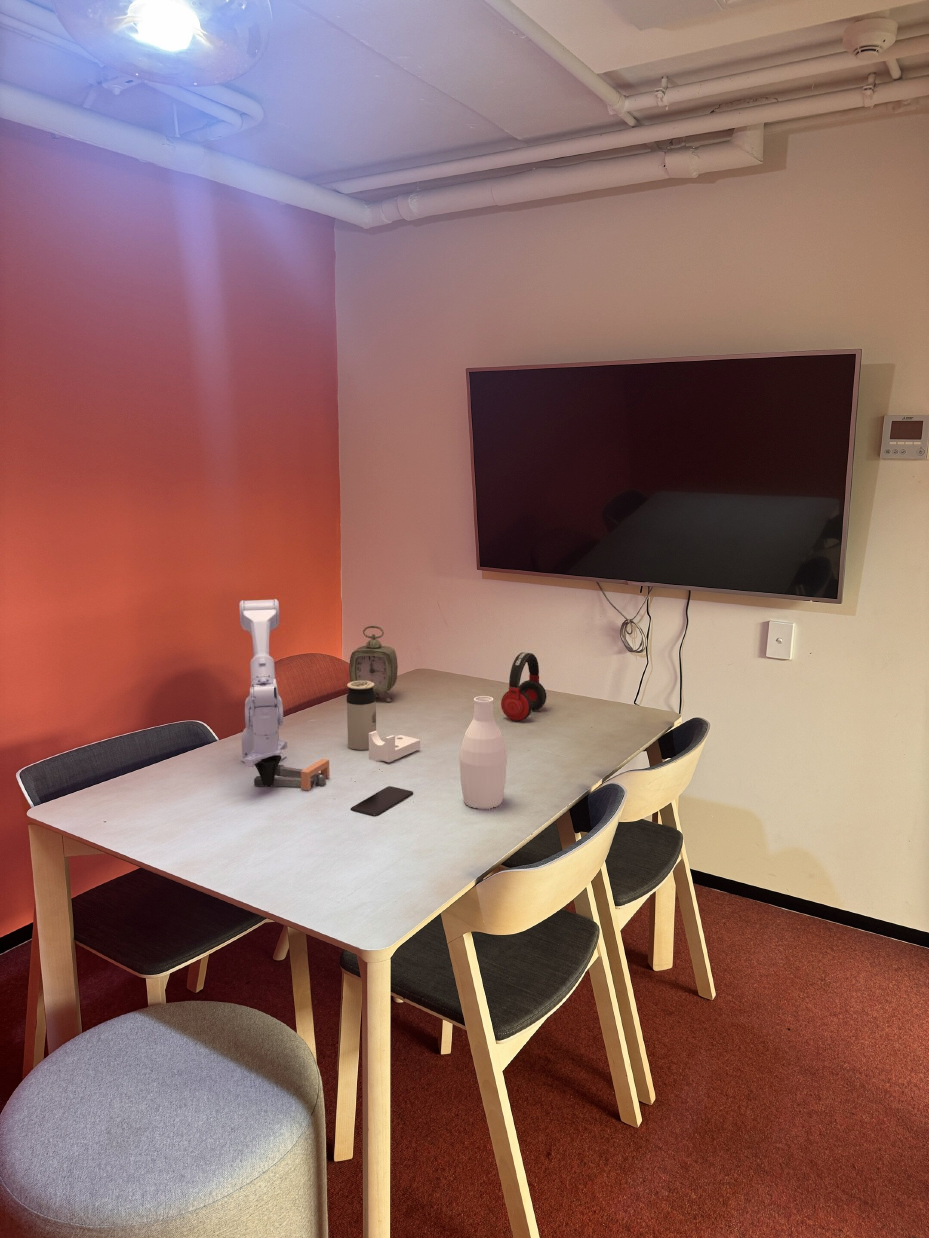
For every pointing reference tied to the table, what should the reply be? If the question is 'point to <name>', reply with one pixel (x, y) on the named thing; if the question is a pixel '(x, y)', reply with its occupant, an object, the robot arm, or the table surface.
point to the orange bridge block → (314, 772)
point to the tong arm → (283, 781)
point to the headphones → (523, 689)
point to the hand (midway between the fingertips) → (268, 785)
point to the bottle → (483, 758)
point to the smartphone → (382, 801)
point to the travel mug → (360, 714)
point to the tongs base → (296, 773)
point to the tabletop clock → (374, 665)
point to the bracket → (391, 747)
